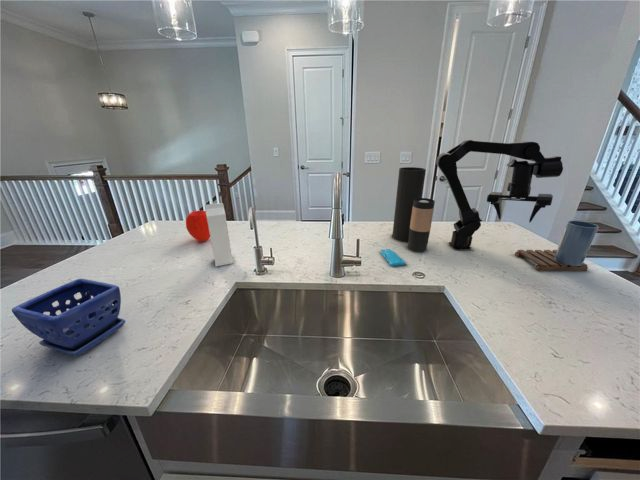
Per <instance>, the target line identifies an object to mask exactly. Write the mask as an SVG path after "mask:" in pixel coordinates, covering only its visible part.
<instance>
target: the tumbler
mask: <svg viewBox="0 0 640 480" xmlns="http://www.w3.org/2000/svg"><path fill="white" fill-rule="evenodd" d="M599 228H600V226H599V225H597V224H595V223H593V222H588V221H582V220H568V221H567V222H566V226H565V228H564V231H563V234H562V236H561V239H560V241H559V244H558V247H557V249H556V250H557V252H556V254H555V258H554V259H555V260H556V261H558V262H560V263H563V264H566V265H571V266H581V265H582V264H583V263H584V262H585V261H586V258H587V255H588V253H589V250H591V249H590V248H591V246H592V243H593V241H594V240H595V238H596V237H595V236H596V234H597V233H598V230H599Z"/></svg>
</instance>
